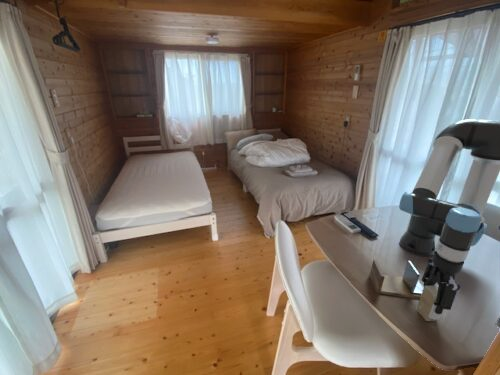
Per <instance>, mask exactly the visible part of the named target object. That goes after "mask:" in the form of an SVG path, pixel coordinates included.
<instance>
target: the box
mask: <svg viewBox="0 0 500 375" xmlns="http://www.w3.org/2000/svg"><path fill="white" fill-rule="evenodd" d="M423 288H424V290H423V293H422V294H421V298H420V299H419V301H418V304H417V306H416V311H417V312H418V313H419V314H420V315H421V317H422V318H423V319H424V320H425V321H427V322H429V321H431V322H432V321H434V322H435V321H438V320H437V319H430V318H429V317H428V316H429V314H430V311H431V308H432V306H433V303H434V302H436V300H437V293H438V285H436V284H435V285H430V286H425V287H424V286H423Z"/></svg>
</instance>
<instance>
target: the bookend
mask: <svg viewBox="0 0 500 375" xmlns="http://www.w3.org/2000/svg"><path fill="white" fill-rule="evenodd" d="M420 275H421V274H420V273H419V271H418V269H417V268H416V267H415V266H414V264H413V263H412V261H411V260H407V263H406V266H405V270H404V273H403V276H402V277H403V280H404V282H405V283H406V285H407V287H408V288H409V290H410V292H411V293H415V294H421V295H422V292H423V288H424V285H423V284H421V282H420V280H419V278H420Z"/></svg>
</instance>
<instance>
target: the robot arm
mask: <svg viewBox="0 0 500 375" xmlns="http://www.w3.org/2000/svg"><path fill="white" fill-rule="evenodd" d="M432 147H433V149H432V151H431V153H430V155H429V158H428V159H427V161H426V163H425V165H424V168H423V170H422V172H421V173H420V175H419V177H418V180H417V182H415V185H414V188H413V190H412V191H405V192H404V193H402V196H401V197H400V200H399V203H398V204H399V205H398V207H399V210H400V211H402V212H404V213H407V214H410V215H411V216H410V219H409V223H408V225H407V226H408V227H407V229H406V231H405V232H404V233H403V235H401V237H400V239H399V245H400V246H401V248H402V249H404V250H405V251H406V252H409V253H411V254H413V255H416V256H421V257H432V258H428V259H427V264H426V267H425V270H424V272H423V275H422V277H421V281H422V283H423V290H424V287H425V286H430V285H436V284H437V287H438V293H437V300H436V302H434V303H433V306H432V308H431V311H430V314H429V316H428V317H429V318H430V319H437V320H436V321H438V320H439V319H440V317H441V315H442V314H443V311H445V310H449V311H451V310H452V306H453V304H454V302H455V299H456V296H457V293H458V291H460V289H461V285H460V284H456V281H455V279H456V274H458V273H460V272H461V271H462V269H463V267H464V265H465V261H466V260H467V258H468V255H469V253H470V248H471V247H474V246H476V245H477V244H478V243H479V241H480V240H481V239H482V237H483V235H484V234H485V232H486V230H487V227H488V224H487V223H486V222H485V218H484V217H483V215H482V214H483V212H484V210H485V208H486V205H487V202H488V200H489V198H490V196H491V194H492V190H493V188H494V186H495V184H496V182H497V179H498V177H499V174H500V120H492V119H475V118H469V119H468V118H467V119H463V120H459V121H457V122H454V123H452V124H449V125H448V126H447V127H445V128H444V129H443V130H441V131H440V132H439V133H438V134H437V136H436V137H435V139H434V141H433V144H432ZM464 149H465V150H471V151H470V154H469V155H470V156H471V157H472V158H473V160H472V163H471V165H470V168H469V171H468V174H467V175H466V176H467V177H466V179H465V182H464V185H463V188H462V191H461V193H460V196H459V199H458V202H457V203H454V202H449V201H446V200H442V199H437V198H438V195H439V194H440V191H441V189H442V186H443V184H444V182H445V180H446V177H447V176H448V173H449V172H450V169H451V167H452V164H453V162H454V160H455V158H456V156H457V154H458V153H460V152H461V151H462V150H464ZM436 236H437V237H439V238H438V242H437V244H436V240H435V238H436ZM422 293H423V292H422Z"/></svg>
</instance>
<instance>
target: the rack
mask: <svg viewBox="0 0 500 375" xmlns="http://www.w3.org/2000/svg"><path fill="white" fill-rule="evenodd" d="M382 270H383V269H381V266H380V264H379V262H378V260H377V259H373V262H372V265H371V268H370V272H369V278H370V279H371V282H372V284H373V287H374V289H375V292H376V293H377V294H380V295H381V294H383V295H390V296H397V297H405V298H412V299H418V300H420V298H421V295H422V294H415V293H411V292H410V290H409V288H408V287H407V285H406V283H405V282H404V280H403V276H393V275H387V274H386V275H385V274H384V273H383V271H382Z"/></svg>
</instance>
